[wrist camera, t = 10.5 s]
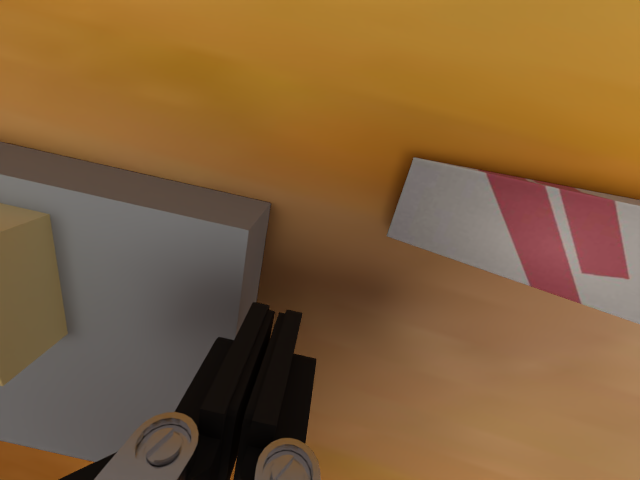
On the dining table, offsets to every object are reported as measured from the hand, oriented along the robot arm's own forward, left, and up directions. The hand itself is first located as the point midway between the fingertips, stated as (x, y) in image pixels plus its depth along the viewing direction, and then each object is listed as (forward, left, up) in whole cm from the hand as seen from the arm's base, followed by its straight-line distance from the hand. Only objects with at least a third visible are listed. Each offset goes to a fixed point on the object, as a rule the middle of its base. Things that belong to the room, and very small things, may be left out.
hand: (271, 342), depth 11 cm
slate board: (-4, +9, -4) cm, 11 cm away
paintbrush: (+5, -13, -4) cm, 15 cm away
